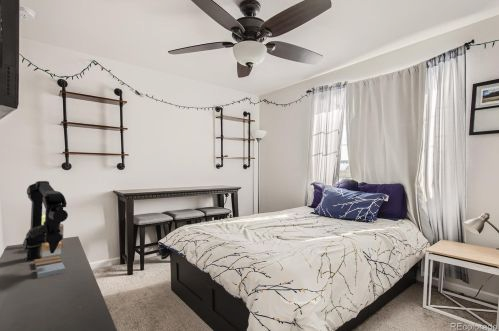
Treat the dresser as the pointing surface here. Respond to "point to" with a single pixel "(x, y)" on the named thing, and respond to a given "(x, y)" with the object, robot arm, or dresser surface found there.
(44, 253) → the housing base
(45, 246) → the cover
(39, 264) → the walnut stand
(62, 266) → the slate stand
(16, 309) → the dresser surface
